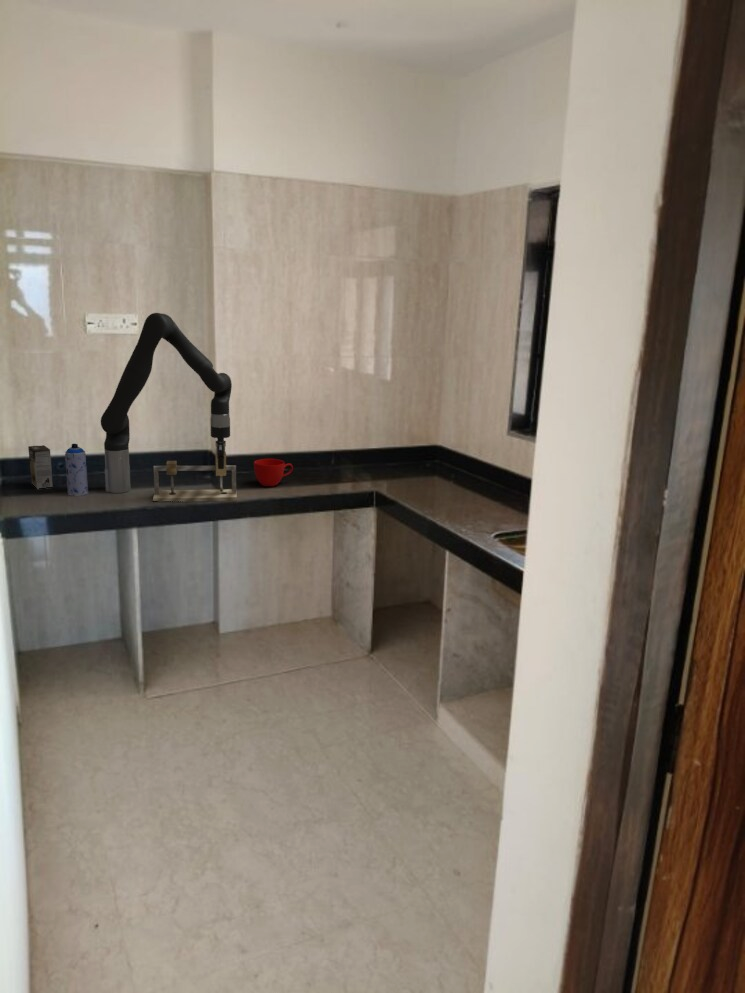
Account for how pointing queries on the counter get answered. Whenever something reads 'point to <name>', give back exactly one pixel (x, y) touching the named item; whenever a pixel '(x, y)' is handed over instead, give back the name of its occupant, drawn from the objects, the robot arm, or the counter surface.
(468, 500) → the counter surface
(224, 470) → the trammel head
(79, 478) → the aerosol can
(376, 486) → the counter surface
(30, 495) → the counter surface
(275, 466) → the ceramic cup
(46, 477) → the coffee box
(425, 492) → the counter surface
